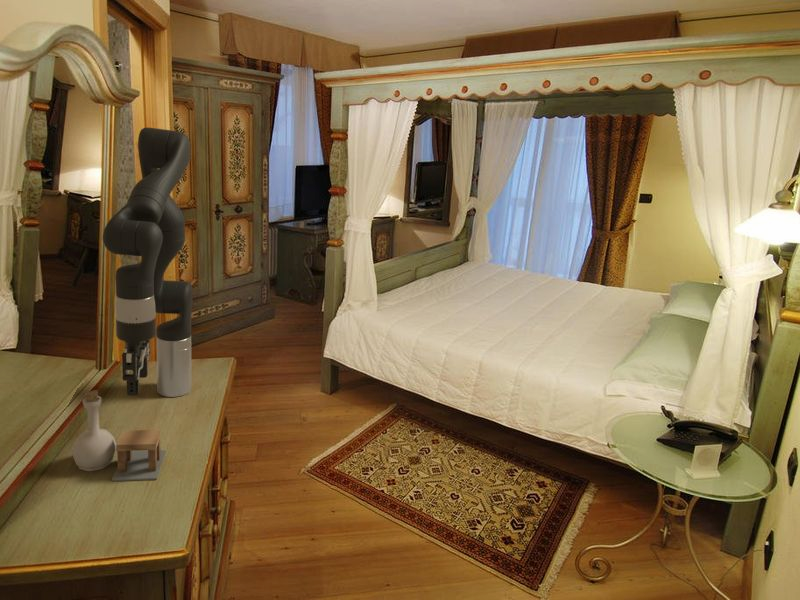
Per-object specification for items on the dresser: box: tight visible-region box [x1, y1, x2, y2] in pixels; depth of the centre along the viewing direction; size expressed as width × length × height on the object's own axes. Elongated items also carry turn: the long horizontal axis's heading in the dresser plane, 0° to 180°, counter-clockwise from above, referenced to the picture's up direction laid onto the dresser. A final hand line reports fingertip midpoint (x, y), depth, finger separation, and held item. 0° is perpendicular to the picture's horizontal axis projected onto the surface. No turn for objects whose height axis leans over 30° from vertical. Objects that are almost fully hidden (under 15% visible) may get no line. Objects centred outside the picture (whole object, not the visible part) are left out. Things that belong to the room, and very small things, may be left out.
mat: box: [111, 449, 167, 482], centre depth 123 cm, size 11×9×1 cm
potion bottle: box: [71, 389, 117, 473], centre depth 120 cm, size 9×9×18 cm
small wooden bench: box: [115, 429, 162, 472], centre depth 122 cm, size 8×6×7 cm
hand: (137, 385), depth 117 cm, fingers open, 8 cm apart
